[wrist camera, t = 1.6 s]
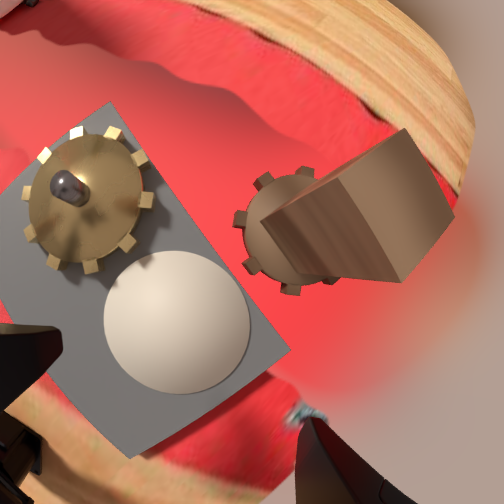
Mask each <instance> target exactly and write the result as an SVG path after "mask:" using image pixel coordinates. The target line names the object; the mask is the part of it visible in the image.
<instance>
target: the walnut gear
mask: <svg viewBox="0 0 504 504" xmlns="http://www.w3.org/2000/svg"><path fill="white" fill-rule="evenodd" d="M253 185H254V186H255V187H256V189H257V190H258V193H257V194H256V195H255V196H254V197H253V199H252V200H251V201H250V203H249V205H248V207H247V209H246V211H240V210H237V211H236V212H235V214H234V220H233V227H234V228H241V229H242V232H243V241H244V245H245V248H246V251H247V253H248V255H249V258H248V259H247V260H245V261H244V262H243V263H242V265H243V266H244V267H245V269H246V270H247V271H248V273H249V274H250V275H255V274H257V273H258V272H259V271H261V272H262V273H264V274H265V275H267V276H268V277H269V278H271V279H274V280H276V281H279V282H281V291H280V292H281V293H284V294H287V295H296V296H300V291H301V286H303V285H310V284H314V283H317V282H320V281H322V282H323V283H324V284H329V285H333V284H334V283H335V282H336V281H338V279H340V278H341V277H343V278H353V279H363V280H374V281H385V282H395V283H402V282H403V281H404V280H405V279H406V278H407V276H408V275H409V274H410V273H411V272H412V271H413V269H414V268H415V267H416V266H417V265H418V264H419V262H420V261H421V260H422V259H423V258H424V256H425V255H426V254H427V253H428V252H429V250H430V249H431V248H432V246H433V245H434V244H435V243H436V241H437V240H438V239H439V238H440V236H441V235H442V234H443V232H444V231H445V230H446V229H447V227H448V226H449V224H450V223H451V221H452V220H453V219H454V218H455V216H454V214H453V212H452V210H451V208H450V206H449V203H448V201H447V199H446V197H445V195H444V193H443V191H442V190H441V188H440V186H439V184H438V182H437V180H436V178H435V176H434V175H433V173H432V171H431V169H430V167H429V166H428V164H427V162H426V160H425V159H424V157H423V155H422V154H421V152H420V150H419V149H418V147H417V146H416V144H415V142H414V141H413V139H412V138H411V136H410V135H409V133H408V132H407V130H406V129H405V128H403V129H402V130H400V131H398V132H397V133H395V134H393V135H391V136H390V137H388V138H386V139H385V140H383V141H381V142H380V143H378V144H376V145H375V146H373V147H371V148H370V149H368V150H366V151H365V152H363V153H361V154H360V155H358V156H356V157H355V158H353V159H351V160H350V161H348V162H346V163H345V164H343V165H341V166H340V167H338V168H337V169H335V170H333V171H332V172H330V173H329V174H327V175H326V176H324V177H322V178H320V179H319V180H317V179H315V178H314V169H313V168H309V167H305V166H301V167H300V168H299V169H298V170H296V171H295V174H294V175H286V176H282V177H279V178H277V179H274V178H273V177H272V176H271V174H270V173H269V172H266V173H265V174H263V175H262V176H260V177H259V178H257V179H256V181H255V182H254V183H253Z"/></svg>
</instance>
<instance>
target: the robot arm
mask: <svg viewBox="0 0 504 504" xmlns="http://www.w3.org/2000/svg"><path fill="white" fill-rule="evenodd" d="M62 353H63V339H62V332H61V330H60V329H58V328H56V327H54V326H43V325H22V324H7V323H0V504H34V500H33V499H32V498H30V497H28V496H27V495H26V494H25V493H24V492H23V491H22V490H20V489H19V487H20V485H21V484H22V482H23V480H24V479H25V477H26V476H27V474H28V473H29V471H31V472H33V473H35V474H36V475H40V474H41V473H42V438H41V437H40V436H39V435H38V434H36V433H35V432H33V431H32V430H30V429H28V428H27V427H25V426H24V425H22V424H21V423H19V422H18V421H16V420H15V419H14V418H12V417H11V416H9V415H8V414H7V413H5V412H4V411H3V410H4V409H6V408H7V407H8V406H9V405H10V404H11V403H12V402H13V401H14V400H15V399H17V398H18V397H19V396H20V395H21V394H22V393H23V392H24V391H25V390H27V389H28V388H29V387H30V386H31V385H32V384H33V383H35V382H36V381H37V380H38V379H39V378H40V377H41V376H42V375H43V374H44V373H45V372H46V371H47V370H48V369H49V368H50V367H51V365H52V364H53V363H54V362H55V361H56V360H57V359H58V358H59V357H60V356H61V354H62ZM295 489H296V504H417V503H416V502H415V501H413V500H411V499H410V498H409V497H407V496H406V495H404V494H403V493H402V492H401V491H400V490H398V489H397V488H396V487H395V486H393V485H392V484H391V483H390V482H389V481H388V480H386V479H384V477H382V476H381V475H380V474H379V473H378V472H377V471H376V470H375V469H373V468H372V467H371V466H370V465H369V464H368V463H367V462H366V461H365V460H364V459H362V458H361V457H360V456H359V455H358V454H357V453H356V452H355V451H354V450H353V449H352V448H350V446H349V445H347V444H346V443H345V442H344V441H343V440H342V439H341V438H340V437H339V436H338V435H337V434H336V433H335V432H334V431H333V430H332V429H331V428H330V427H329V426H328V425H327V424H326V423H325V422H324V421H323V420H322V419H321V418H316V417H308V419H307V420H306V422H305V424H304V426H303V427H302V429H301V431H300V433H299V436H298V444H297V455H296V465H295Z"/></svg>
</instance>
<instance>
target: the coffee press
mask: <svg viewBox="0 0 504 504" xmlns="http://www.w3.org/2000/svg"><path fill="white" fill-rule="evenodd" d="M38 1H39V0H0V18H2V17H3V16H5V15H6V14H7V13H9V12H10V11H11V10H13V9H14V8H15V7H16V6H17V5H19V4H25V5H27V6H29V7H33V6H34V5H35V4H36V3H37V2H38Z"/></svg>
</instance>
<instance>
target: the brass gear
mask: <svg viewBox="0 0 504 504" xmlns="http://www.w3.org/2000/svg"><path fill="white" fill-rule="evenodd" d="M125 139H126V138H125V136H124V134H123V132H122V130H120V129H118V128H115V127H112V126H109V128H108V130H107V131H106V133H105V135H99V134H88V132H87V131H86V130H85V128H84V127H83V126H81V127H78V128H75V129H72V130H70V140H68V141H66V142H65V143H63V144H61V145H60V146H59V147H57V148H56V149H55V150H54V151H53V152H51V151H50V150H49V149H48V148H47V147H46V148H45V149H44V150H43V151H42V153H41V154H40V155H39V156H38V157H37V158H38V160H39V161H40V162H41V163H42V165H41V166H40V168H39V170H38V171H37V173H36V175H35V178H34V180H33V183H32V186H24V187H23V192H22V198H21V200H23V201H26V202H28V203H29V218H30V223H31V224H30V225H29V226H27V227H26V228H25V229H24V233H25V236H26V238H27V241H28V243H36V244H38V243H40V244H41V245H42V247H43V248H44V249H45V250H46V251H47V252H49V256H48V259H47V262H46V265H48V266H50V267H51V268H53V269H55V270H57V271H59V270H66V268H67V266H68V263H69V262H75V263H82V262H83V267H84V272H85V274H93V273H97V272H101V271H105V266H104V261H103V259H104V258H107V257H108V256H110V255H112V254H114V253H115V252H117V251H118V250H119V249H120V248H121V249H122V250H123V251H124V252H126V253H128V254H132V252H133V251H134V250H135V249H136V248H137V246H138V245H139V244H140V243H141V242H140V241H139V240H138V239H137V238H136V237H135V236H134V235H133V233H134V232H135V230H136V228H137V226H138V224H139V222H140V219H141V217H142V213H143V211H145V212H154V211H155V203H156V196H155V194H154V192H145V185H144V180H143V176H142V173H143V172H145V171H147V170H148V169H150V168H151V165H150V163H149V160H148V158H147V157H146V155H145V153H144V151H143V149H140V150H138V151H137V152H135V153H133V154H131V153H130V151H129V150H128V149H127V148H126V147H125V146H124V145H123V143H124V141H125Z"/></svg>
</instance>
